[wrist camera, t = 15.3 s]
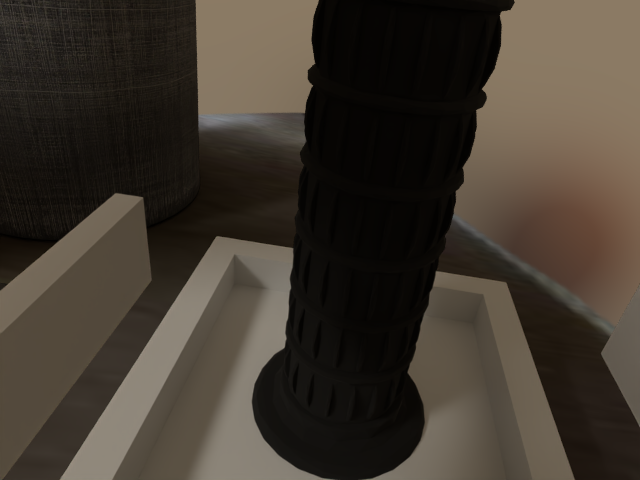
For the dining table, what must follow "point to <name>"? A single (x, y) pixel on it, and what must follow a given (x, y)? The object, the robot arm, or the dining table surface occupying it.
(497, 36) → the ribbed tower figurine
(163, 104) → the planter
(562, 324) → the dining table surface
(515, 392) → the tray
